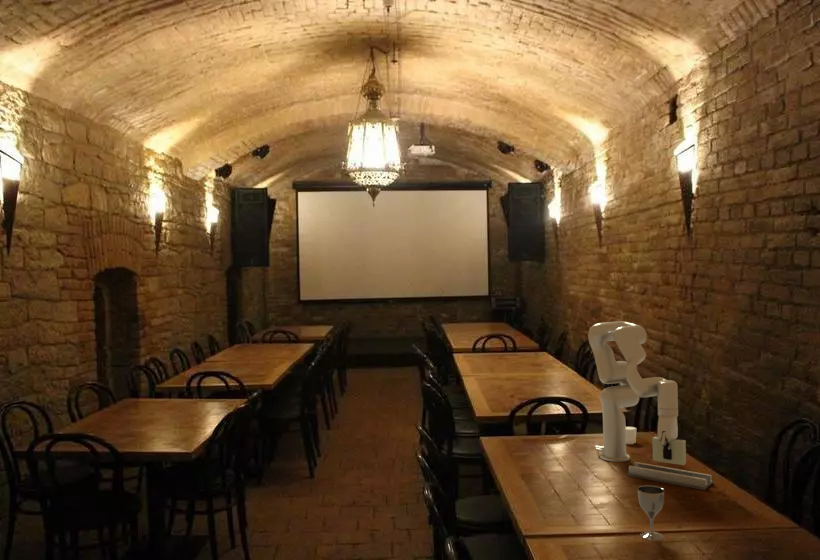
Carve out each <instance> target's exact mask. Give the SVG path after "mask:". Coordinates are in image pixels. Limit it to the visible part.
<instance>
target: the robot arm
mask: <svg viewBox="0 0 820 560" xmlns="http://www.w3.org/2000/svg"><path fill="white" fill-rule="evenodd" d="M647 335H648V334H647V331H646V330H645V328H644V327H643V326H641V325H639V324H636V323H631V322H628V321H621V320H619V321H618V320H617V321H606V322H605V321H603V322H599V323H595V324H593V325H592V326H591V327H590V328H589V331H588V335H587V337H588V342H589V345H590V348H591V351H592V353H593V357H594V361H595V365H596V369H597V374H598V379H599V380H600V382H601V383H602V384H606V385H609V384H610V385H611V384H612V385H613V384H619V385H615V386H608V387H605V388H604V389H602V390H601V391H600V394H599V401H600V404H601V410H602V412H601V413H602V434H603V435H602V437H603V439H602V440H603V445H602V446H601V445H595V451H596V452H600V455H599V457H600V459H601V460H602V461H603V460H604V461H606V462H613V463H622V462H623V463H624V462H628V461H630V459H631V456H630V455H629V453H627V444H626V427H627V426H626V424H627V423H626V416H625V414H624V412H623V410H622V409H623V408H629V407H634V406H636V405H638V403H639V401H640V398H652V397H657V416H658V420H657V437H658V441H661V440H662V442H661V445H662V446H663V458H664V459H669V460H671V459H672V450H671V441H673V440H674V439H677V438H678V436H679V428H678V416H679V403H678V402H679V399H678V397H679V394H678V383H677V382H676V381H675V380H672V379H670V380H669V379H666V378H665V377H662V376H654V377H645V378H642V376H641V375H640V373H639V371H638V368H637V366H638V365H639V364H641V363H642V362H644V361H645V359H646V357H647V353H646V351H645V349H644V348H643V346H642V345H643V344H645V342H646V341H647V338H648V336H647ZM607 342H615V343H616V345H617V348H618V349H619V351H620V352H621V354H622V356H623V357H624V359H625V360H616V357H615V354H614V351H613V349H612V348H611V346H610V345H609V344H608V343H607ZM666 440H668V441H666ZM666 443H668V444H666Z"/></svg>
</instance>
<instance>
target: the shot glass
mask: <svg viewBox="0 0 820 560" xmlns="http://www.w3.org/2000/svg"><path fill="white" fill-rule="evenodd" d="M636 441H637V427H635V426H626V445H634V443H635V444H636Z"/></svg>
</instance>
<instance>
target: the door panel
mask: <svg viewBox="0 0 820 560" xmlns="http://www.w3.org/2000/svg"><path fill="white" fill-rule="evenodd" d="M651 440H652V441H651V442H652V443H651V445H652V461H654V462H661V463H668V464H673V465H679V466H685V465H686V464H687V446H686V445H687V444H686V443H687V441H686V440H684V439H677V438H676V439H674V440H673V441H671V450H672V459H671V460H669V459H664V458H663V446H662V445H661V442H662V440H661V441H658V436H654V437H652V439H651ZM666 441H668V440H666ZM666 444H668V443H666Z"/></svg>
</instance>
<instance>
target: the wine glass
mask: <svg viewBox="0 0 820 560" xmlns="http://www.w3.org/2000/svg"><path fill="white" fill-rule="evenodd" d="M637 498H638V503H639V506H640V508H641V509H642V510H643V511H644V513H645V514H646V515H647V516H648V519H649V526H650V531H643V532H644V533H643V532H641V533H642V534H641V533H640V535H639V536H640V537H641V538H642V539H644V540H645V541H646V540H647V541H652V542H656V541H658V542H659V541H662V540H664V538H665V537H664V535H663V534H662V533H659V532H656V531H654V520H655V517H656V516H657V515H658V514H659V513H660V511H662V510H663V506H664V503H665V489H664V488H663V487H660V486H658V485H657V486H656V485H649V484H645V485H640V486H638V487H637Z"/></svg>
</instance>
